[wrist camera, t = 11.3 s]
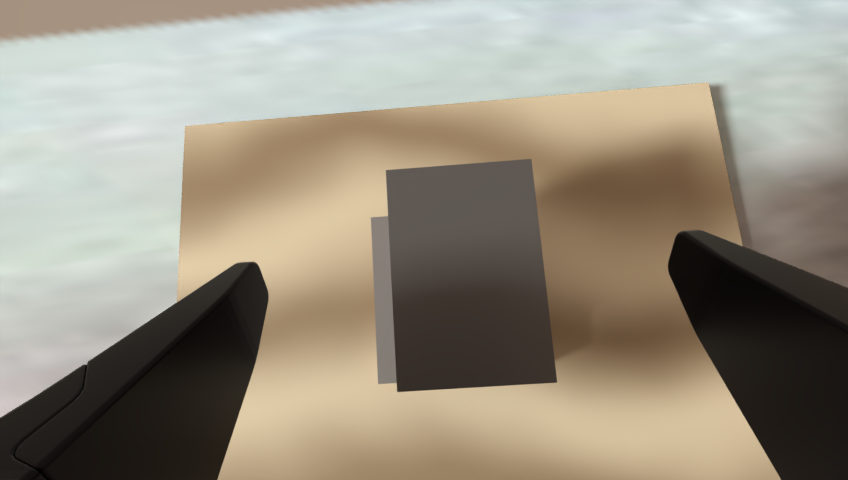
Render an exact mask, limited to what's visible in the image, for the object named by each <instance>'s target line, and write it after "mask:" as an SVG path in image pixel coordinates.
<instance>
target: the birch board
mask: <svg viewBox="0 0 848 480" xmlns="http://www.w3.org/2000/svg"><path fill="white" fill-rule="evenodd" d="M522 159H532V168H533V176H534V185H535V194H536V202H537V211H538V220H539V228H540V237H541V246H542V255H543V263H544V272H545V281H546V289H547V298H548V307H549V315H550V324H551V333H552V341H553V350H554V359H555V367H556V376H557V383H542V384H525V385H509V386H492V387H475V388H458V389H442V390H425V391H408V392H397V383H389V384H378V371H377V348H376V325H375V302H374V280H373V257H372V234H371V217H383V216H388V204H387V185H386V170H394V169H407V168H419V167H432V166H445V165H458V164H471V163H483V162H496V161H509V160H522ZM686 230H702V231H705V232H708V233H710V234H713V235H715V236H718V237H720V238H723V239H725V240H728V241H730V242H733V243H735V244H738V245H740V246H743V244H742V239H741V235H740V230H739V225H738V220H737V216H736V211H735V206H734V201H733V197H732V192H731V187H730V182H729V178H728V173H727V168H726V163H725V159H724V154H723V149H722V144H721V140H720V135H719V130H718V125H717V121H716V116H715V111H714V106H713V101H712V97H711V92H710V87H709V83H697V84H685V85H673V86H661V87H649V88H637V89H625V90H613V91H601V92H589V93H577V94H565V95H553V96H541V97H529V98H517V99H505V100H493V101H481V102H469V103H457V104H445V105H433V106H421V107H409V108H397V109H385V110H373V111H361V112H349V113H337V114H325V115H313V116H301V117H289V118H277V119H265V120H253V121H241V122H229V123H217V124H205V125H193V126H185V140H184V161H183V183H182V204H181V225H180V247H179V268H178V290H177V302H178V301H180V300H181V299H183V298H184V297H186V296H187V295H189V294H190V293H192V292H193V291H195V290H196V289H198V288H199V287H201V286H202V285H204V284H205V283H207V282H208V281H210V280H211V279H213V278H214V277H216V276H217V275H219V274H220V273H222V272H223V271H225V270H226V269H228V268H229V267H231V266H232V265H234V264H236V263H238V262H256V263H257V264H258V265H259V267H260V270H261V273H262V275H263V278H264V281H265V284H266V286H267V289H268V294H269V300H268V306H267V311H266V316H265V321H264V326H263V331H262V336H261V341H260V346H259V351H258V355H257V359H256V363H255V366H254V370H253V373H252V376H251V379H250V382H249V385H248V388H247V391H246V394H245V397H244V400H243V403H242V406H241V409H240V412H239V415H238V419H237V422H236V425H235V428H234V431H233V434H232V437H231V440H230V443H229V446H228V449H227V452H226V455H225V458H224V461H223V464H222V467H221V470H220V473H219V476H218V479H217V480H781V479H780V477H779V475H778V474H777V472H776V470H775V469H774V467H773V465H772V463H771V462H770V460H769V458H768V457H767V455H766V453H765V451H764V450H763V448H762V446H761V445H760V443H759V441H758V440H757V438H756V436H755V434H754V433H753V431H752V429H751V428H750V426H749V424H748V422H747V421H746V419H745V417H744V416H743V414H742V412H741V411H740V409H739V407H738V405H737V404H736V402H735V400H734V399H733V397H732V395H731V393H730V392H729V390H728V388H727V387H726V385H725V383H724V382H723V380H722V378H721V376H720V375H719V373H718V371H717V370H716V368H715V366H714V364H713V363H712V361H711V359H710V358H709V356H708V354H707V353H706V351H705V349H704V347H703V346H702V344H701V342H700V340H699V339H698V337H697V335H696V333H695V331H694V329H693V327H692V325H691V323H690V320H689V318H688V316H687V314H686V311H685V309H684V307H683V305H682V302H681V300H680V298H679V295H678V293H677V291H676V289H675V286H674V284H673V282H672V280H671V277H670V275H669V272H668V261H669V257H670V254H671V250H672V247H673V243H674V240H675V237H676V235H677V234H678V233H679V232H680V231H686Z"/></svg>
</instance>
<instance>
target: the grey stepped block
mask: <svg viewBox="0 0 848 480" xmlns="http://www.w3.org/2000/svg"><path fill="white" fill-rule="evenodd" d="M386 185H387V204H388V216H383V217H371V234H372V257H373V280H374V302H375V325H376V348H377V371H378V384H389V383H397V392H408V391H425V390H442V389H458V388H475V387H492V386H509V385H525V384H542V383H557V376H556V367H555V359H554V350H553V341H552V333H551V324H550V315H549V307H548V298H547V289H546V281H545V272H544V263H543V255H542V246H541V237H540V228H539V220H538V211H537V202H536V194H535V185H534V176H533V168H532V159H522V160H509V161H496V162H483V163H471V164H458V165H445V166H432V167H419V168H407V169H394V170H386Z"/></svg>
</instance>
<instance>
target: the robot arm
mask: <svg viewBox="0 0 848 480" xmlns="http://www.w3.org/2000/svg"><path fill="white" fill-rule="evenodd" d="M668 272H669V275H670V277H671V280H672V282H673V284H674V286H675V289H676V291H677V293H678V295H679V298H680V300H681V302H682V305H683V307H684V309H685V311H686V314H687V316H688V318H689V320H690V323H691V325H692V327H693V329H694V331H695V333H696V335H697V337H698V339H699V340H700V342H701V344H702V346H703V347H704V349H705V351H706V353H707V354H708V356H709V358H710V359H711V361H712V363H713V364H714V366H715V368H716V370H717V371H718V373H719V375H720V376H721V378H722V380H723V382H724V383H725V385H726V387H727V388H728V390H729V392H730V393H731V395H732V397H733V399H734V400H735V402H736V404H737V405H738V407H739V409H740V411H741V412H742V414H743V416H744V417H745V419H746V421H747V422H748V424H749V426H750V428H751V429H752V431H753V433H754V434H755V436H756V438H757V440H758V441H759V443H760V445H761V446H762V448H763V450H764V451H765V453H766V455H767V457H768V458H769V460H770V462H771V463H772V465H773V467H774V469H775V470H776V472H777V474H778V475H779V477H780V479H781V480H848V288H847V287H844V286H842V285H839V284H837V283H834V282H832V281H829V280H826V279H824V278H821V277H819V276H816V275H814V274H811V273H809V272H806V271H804V270H801V269H799V268H796V267H794V266H791V265H789V264H786V263H783V262H781V261H778V260H776V259H773V258H771V257H768V256H766V255H763V254H761V253H758V252H756V251H753V250H751V249H748V248H746V247H743V246H740V245H738V244H735V243H733V242H730V241H728V240H725V239H723V238H720V237H718V236H715V235H713V234H710V233H708V232H705V231H702V230H686V231H680V232H679V233H678V234H677V235H676V237H675V240H674V243H673V247H672V250H671V254H670V257H669V261H668ZM268 300H269V294H268V289H267V286H266V284H265V281H264V278H263V275H262V273H261V270H260V267H259V265H258V264H257V263H256V262H238V263H236V264H234V265H232V266H231V267H229V268H228V269H226V270H225V271H223V272H222V273H220V274H219V275H217V276H216V277H214V278H213V279H211V280H210V281H208V282H207V283H205V284H204V285H202V286H201V287H199V288H198V289H196V290H195V291H193V292H192V293H190V294H189V295H187V296H186V297H184V298H183V299H181V300H180V301H178V302H177V303H175V304H174V305H172V306H171V307H169V308H168V309H166V310H165V311H163V312H162V313H160V314H159V315H157V316H156V317H154V318H153V319H151V320H150V321H148V322H147V323H145V324H144V325H142V326H141V327H139V328H138V329H136V330H135V331H133V332H132V333H130V334H129V335H127V336H126V337H124V338H123V339H121V340H120V341H118V342H117V343H115V344H114V345H112V346H111V347H109V348H108V349H106V350H105V351H103V352H102V353H100V354H99V355H97V356H96V357H94V358H93V359H91V360H90V361H88V363H87V365H82V366H81V367H79V368H78V369H76V370H75V371H73V372H72V373H70V374H69V375H67V376H66V377H64V378H63V379H61V380H60V381H58V382H57V383H55V384H53V385H52V386H50V387H49V388H47V389H46V390H44V391H43V392H41V393H40V394H38V395H36V396H35V397H33V398H32V399H30V400H28V401H27V402H25V403H24V404H22V405H20V406H19V407H17V408H15V409H14V410H12V411H10V412H9V413H7V414H6V415H4V416H2V417H1V418H0V480H217V479H218V476H219V473H220V470H221V467H222V464H223V461H224V458H225V455H226V452H227V449H228V446H229V443H230V440H231V437H232V434H233V431H234V428H235V425H236V422H237V419H238V415H239V412H240V409H241V406H242V403H243V400H244V397H245V394H246V391H247V388H248V385H249V382H250V379H251V376H252V373H253V370H254V366H255V363H256V359H257V355H258V351H259V346H260V341H261V336H262V331H263V326H264V321H265V316H266V311H267V306H268Z"/></svg>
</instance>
